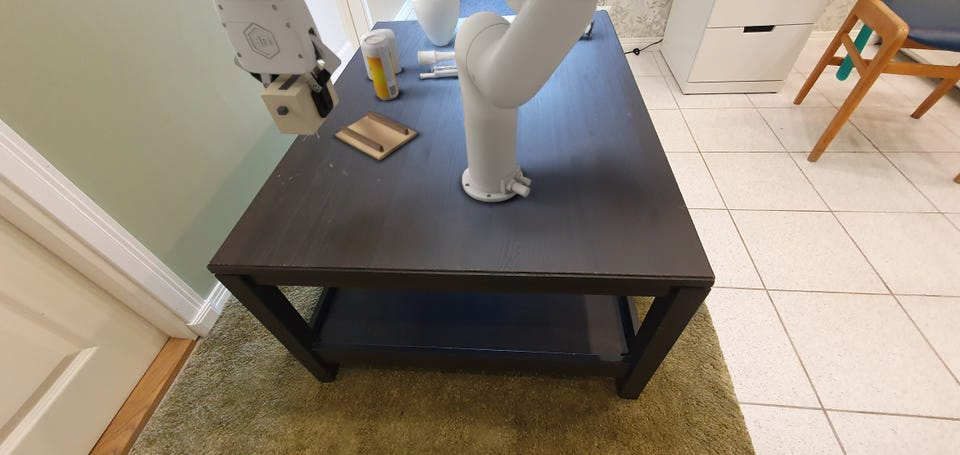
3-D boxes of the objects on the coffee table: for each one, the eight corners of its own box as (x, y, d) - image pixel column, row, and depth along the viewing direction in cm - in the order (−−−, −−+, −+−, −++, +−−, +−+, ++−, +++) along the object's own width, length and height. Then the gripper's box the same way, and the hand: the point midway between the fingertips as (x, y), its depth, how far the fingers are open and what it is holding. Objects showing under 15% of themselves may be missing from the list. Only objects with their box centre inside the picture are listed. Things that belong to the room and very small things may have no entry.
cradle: (373, 114, 97) (371, 106, 95) (417, 135, 90) (415, 126, 88) (336, 137, 91) (332, 129, 89) (379, 160, 84) (377, 152, 82)
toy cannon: (469, 78, 111) (468, 72, 105) (422, 82, 111) (419, 76, 105) (467, 51, 110) (466, 43, 105) (420, 54, 110) (416, 47, 105)
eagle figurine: (591, 28, 124) (565, 21, 124) (598, 13, 117) (570, 6, 117) (586, 48, 123) (559, 42, 124) (592, 35, 116) (564, 28, 116)
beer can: (388, 87, 106) (374, 32, 95) (404, 93, 103) (392, 36, 92) (373, 97, 103) (357, 41, 91) (388, 103, 100) (374, 46, 89)
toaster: (339, 101, 58) (325, 62, 53) (310, 139, 51) (291, 98, 47) (309, 100, 58) (292, 61, 54) (277, 137, 52) (255, 97, 47)
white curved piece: (398, 66, 114) (389, 23, 105) (404, 71, 112) (395, 28, 103) (367, 76, 111) (354, 33, 102) (372, 82, 108) (360, 38, 99)
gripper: (152, -24, 40) (242, 124, 53) (300, -26, 37) (354, 129, 51) (197, -44, 44) (269, 97, 58) (330, -47, 42) (373, 100, 56)
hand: (308, 111), depth 54 cm, fingers closed on toaster, 5 cm apart
